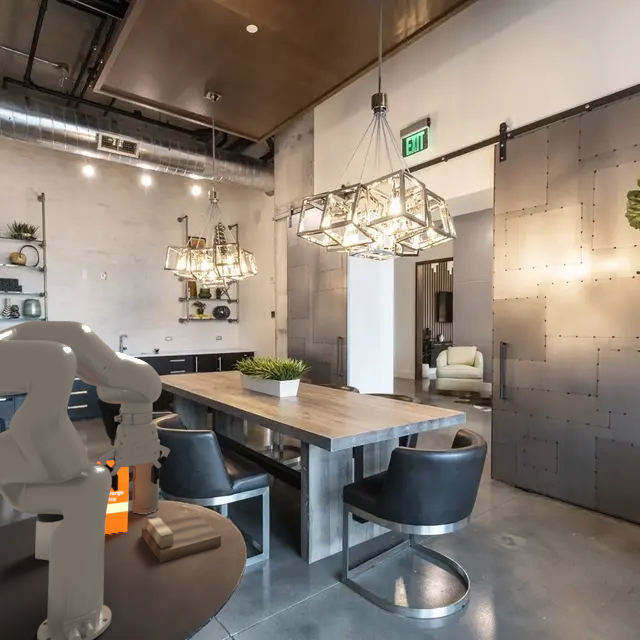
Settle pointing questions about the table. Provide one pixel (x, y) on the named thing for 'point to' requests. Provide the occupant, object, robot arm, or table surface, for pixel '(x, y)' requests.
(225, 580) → the table surface
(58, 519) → the jar
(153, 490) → the thermos bottle
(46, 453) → the robot arm
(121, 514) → the orange juice
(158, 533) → the hinged leg
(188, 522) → the stool top
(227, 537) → the table surface
